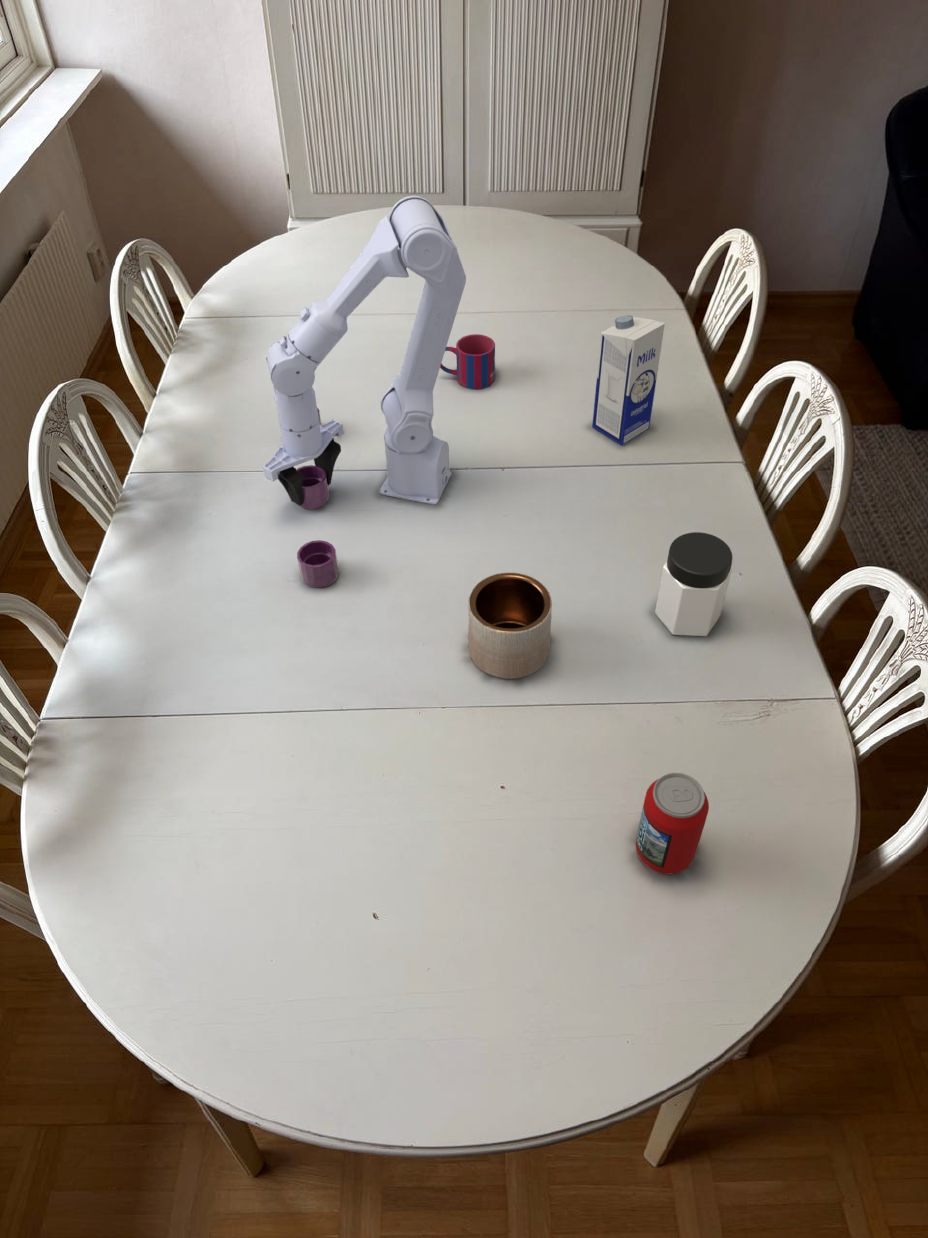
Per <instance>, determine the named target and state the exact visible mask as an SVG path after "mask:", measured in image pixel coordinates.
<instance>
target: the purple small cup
mask: <svg viewBox="0 0 928 1238" xmlns="http://www.w3.org/2000/svg"><path fill="white" fill-rule="evenodd" d="M336 551H337V550H336V548H335V547H334V545H333V544H332V543H330V542H328V541H326V540H320V539H319V540H312V541H311V540H310V541H308V542H305V543H304V544H302V546H300V547H299V549H298V551H296V556H297V557H296V559H297V564H298V568H299V573H300V578H301V580H302V582H304V583H305V584H306V585H308V586H310V587H312V588H324V587H328V586H330V585H331V584H333V582H334V581H336V579H337V578H338V576H339V573H340V572H339V571H340V570H339V564H338V557H337V552H336Z"/></svg>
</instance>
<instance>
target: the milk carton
mask: <svg viewBox="0 0 928 1238" xmlns="http://www.w3.org/2000/svg"><path fill="white" fill-rule="evenodd" d="M614 323H615V324H614V325H612V326H610V327H608V328H606V329H605V330H603V331H601V332H600V341H599V352H598V362H597V375H596V382H595V394H594V402H593V403H594V404H593V416H592V424H591V428H592V429H594V430H595V431H597V432H598V433H600V434H601V435H603V436H605V437H606V438H608V439H610V440H611V441H613V442H615V443H616V444H617V445H619V446H621V447H622V446H624V445H626V444H628V443H629V442H631V441H632V440H633V439H635V438H637V437H638V436H640V435H642V434H644V433H645V432H648V431H649V430H650V425H651V419H652V414H653V412H652V411H653V406H654V398H655V392H656V385H657V379H658V372H659V365H660V358H661V352H662V345H663V339H664V331H665V325H666V323H665V322H662V321H659V320H657V319H651V318H646V317H645V318H644V317H638V316H633V315H624V316H623V315H621V316H618V317H617V318H615V319H614Z"/></svg>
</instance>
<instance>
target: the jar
mask: <svg viewBox="0 0 928 1238" xmlns="http://www.w3.org/2000/svg"><path fill="white" fill-rule="evenodd" d="M732 564H733V552H732V549H731V548H730V546H729V545H728V543H726V541H724V540H723V539H721V538H720V537H718V536H716V535H713V534H710V533H707V532H700V531H699V532H698V531H694V532H688V533H684V534H681V535H678V536H677V537H675V539H674V540H673V541H672V542H671V543H670V546H669V550H668V555H667V560H666V562H665V563H664V564H663V567H662V572H661V576H660V583H659V588H658V593H657V597H656V598H657V599H656V604H655V605H656V606H655V609H654V614H655V616H657V618H658V619H659V620H660V622H661V623H662V624H663V625H664V626H665V627H666V628H667V630H668V631H669V632H670V633H671V635H673V636H692V637H707V636H708V635H709V633H710V632H711V630H712V629H713V627H714V626H715V624H716V623H717V621H718V620H719V618H720V617H721V615H722V610H723V607H724V603H725V599H726V595H727V591H728V587H729V583H730V580H731V576H732V572H733V568H732Z"/></svg>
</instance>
